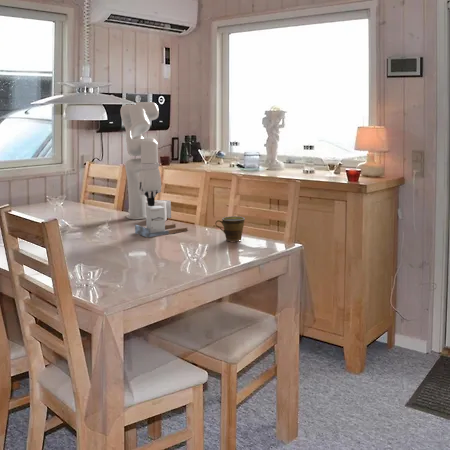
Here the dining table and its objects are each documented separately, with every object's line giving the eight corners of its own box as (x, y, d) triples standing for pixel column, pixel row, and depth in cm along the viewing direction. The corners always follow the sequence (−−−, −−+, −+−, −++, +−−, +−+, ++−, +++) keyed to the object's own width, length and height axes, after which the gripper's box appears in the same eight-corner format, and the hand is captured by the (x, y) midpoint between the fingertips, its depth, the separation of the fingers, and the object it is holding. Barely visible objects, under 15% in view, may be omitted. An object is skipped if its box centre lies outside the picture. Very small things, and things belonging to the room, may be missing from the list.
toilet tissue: (142, 221, 321) (141, 202, 319) (155, 217, 331) (155, 199, 329) (159, 223, 316) (158, 203, 314) (172, 219, 326) (171, 200, 324)
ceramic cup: (244, 237, 280) (243, 216, 278) (245, 242, 270) (245, 220, 268) (215, 238, 279) (215, 216, 277) (216, 243, 270) (215, 221, 268)
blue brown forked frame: (135, 233, 293) (134, 224, 292) (174, 226, 306) (174, 219, 305) (147, 237, 284) (146, 228, 283) (187, 230, 297) (187, 222, 296)
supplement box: (150, 235, 288) (149, 208, 286) (146, 232, 295) (145, 206, 292) (165, 233, 291) (164, 207, 288) (161, 230, 298) (160, 205, 295)
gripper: (159, 164, 293) (160, 203, 297) (131, 167, 284) (133, 206, 288) (167, 166, 287) (169, 205, 291) (139, 168, 279) (141, 208, 282)
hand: (151, 205), depth 289 cm, fingers closed
